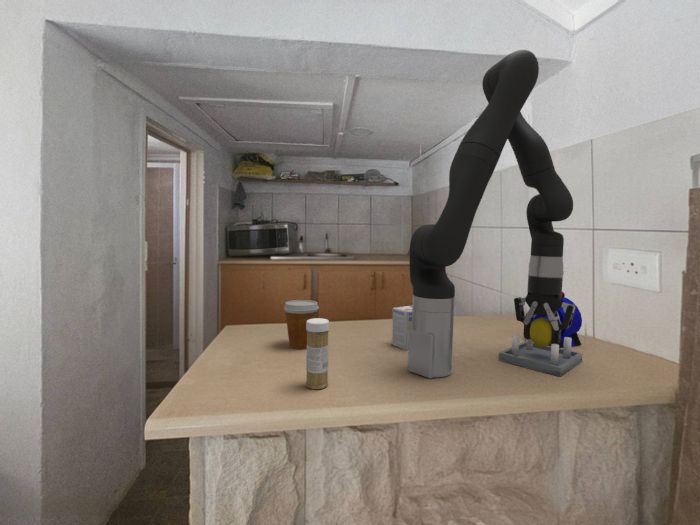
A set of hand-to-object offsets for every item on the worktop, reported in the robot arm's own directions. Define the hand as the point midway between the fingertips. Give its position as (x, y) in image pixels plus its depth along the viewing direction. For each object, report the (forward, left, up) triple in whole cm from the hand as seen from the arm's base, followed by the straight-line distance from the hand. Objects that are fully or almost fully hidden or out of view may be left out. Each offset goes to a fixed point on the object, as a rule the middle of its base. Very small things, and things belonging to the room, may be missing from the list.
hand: (541, 341), depth 91 cm
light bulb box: (-14, +29, -5) cm, 33 cm away
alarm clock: (+21, +5, -5) cm, 22 cm away
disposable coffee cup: (-39, +48, -5) cm, 62 cm away
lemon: (0, 0, -2) cm, 2 cm away
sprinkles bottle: (-52, +24, -5) cm, 57 cm away
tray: (0, 0, -5) cm, 5 cm away
